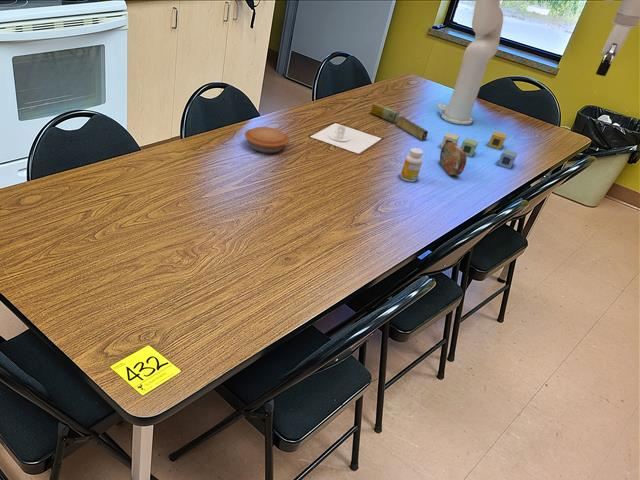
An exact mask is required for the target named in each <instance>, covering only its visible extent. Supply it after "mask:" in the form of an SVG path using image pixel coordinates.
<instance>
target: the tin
mask: <svg viewBox="0 0 640 480" xmlns="http://www.w3.org/2000/svg"><path fill="white" fill-rule="evenodd" d="M439 163H440V165H441V167H442V168H443V169H444V171H446V173H447V174H448V175H449V176H460V175H461V174H462V173H463V172H464V170H465V168H466V164H467V156H466V154H465V152H464V151H463V150H462V149H461V146H459V145H458V143H457V144H456V143H451V142H447V143H445V145H444V146H443V148H441V150H440V154H439Z"/></svg>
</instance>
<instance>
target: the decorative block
mask: <svg viewBox="0 0 640 480" xmlns="http://www.w3.org/2000/svg"><path fill="white" fill-rule="evenodd" d="M396 126H397V127H399V128H400V129H402V130H403V131H406V133H409V134H410V135H412V136H413V137H415V138H417V139H419V140H420V141H426V140H427V137H428V133H429V131H428V130H426V129H424V128H423V127H421V126H420V125H417V124H416V123H414V122H412V121H411V120H409V119H408V118H406V117H404V116H399V117H398V120H397V123H396Z"/></svg>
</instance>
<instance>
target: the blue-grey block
mask: <svg viewBox="0 0 640 480" xmlns="http://www.w3.org/2000/svg"><path fill="white" fill-rule="evenodd" d="M518 153H519V152H517V151H513V150H510V149H507V148H504V149H503V151H502V152H501V154H500V157H499V159H498V162H497V166H500V167H504V168H506V169H509V170H510V169H512V167H513V166H514V163H515V161H516V158H517V155H518Z"/></svg>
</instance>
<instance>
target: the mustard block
mask: <svg viewBox="0 0 640 480" xmlns="http://www.w3.org/2000/svg"><path fill="white" fill-rule="evenodd" d="M507 136H508V134H506V133H503V132H499V131H495V130H494V132H493V133H492V134H491V137H490V139H489V142H488V144H487V147H490V148H493V149H497V150H501V148H502V147H503V146H504V143H505V141H506V138H507Z"/></svg>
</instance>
